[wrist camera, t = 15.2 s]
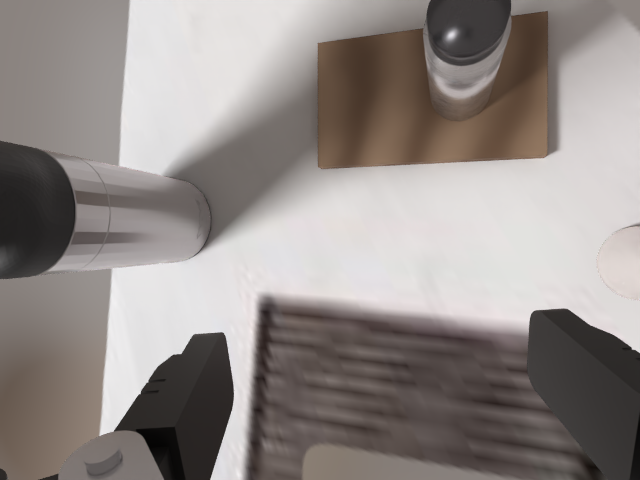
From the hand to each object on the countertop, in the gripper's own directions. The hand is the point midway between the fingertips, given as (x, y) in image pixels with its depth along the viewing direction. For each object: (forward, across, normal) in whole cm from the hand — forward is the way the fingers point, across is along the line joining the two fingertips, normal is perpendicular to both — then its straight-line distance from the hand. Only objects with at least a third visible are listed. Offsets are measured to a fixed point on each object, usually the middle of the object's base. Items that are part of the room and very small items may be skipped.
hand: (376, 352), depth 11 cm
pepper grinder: (+28, -12, -8) cm, 32 cm away
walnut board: (+31, -9, -8) cm, 33 cm away
